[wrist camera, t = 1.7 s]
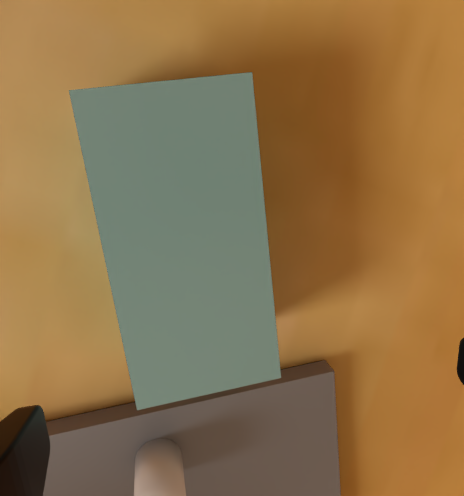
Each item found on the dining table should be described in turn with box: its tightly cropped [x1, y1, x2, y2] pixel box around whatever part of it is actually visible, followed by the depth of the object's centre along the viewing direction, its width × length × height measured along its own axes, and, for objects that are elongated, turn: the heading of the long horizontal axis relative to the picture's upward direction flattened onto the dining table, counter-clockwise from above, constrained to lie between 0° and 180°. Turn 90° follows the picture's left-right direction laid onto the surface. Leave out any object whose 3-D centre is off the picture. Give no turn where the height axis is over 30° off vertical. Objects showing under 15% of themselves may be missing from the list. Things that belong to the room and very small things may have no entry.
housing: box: [69, 72, 281, 410], centre depth 17 cm, size 6×12×5 cm, turn 6°
